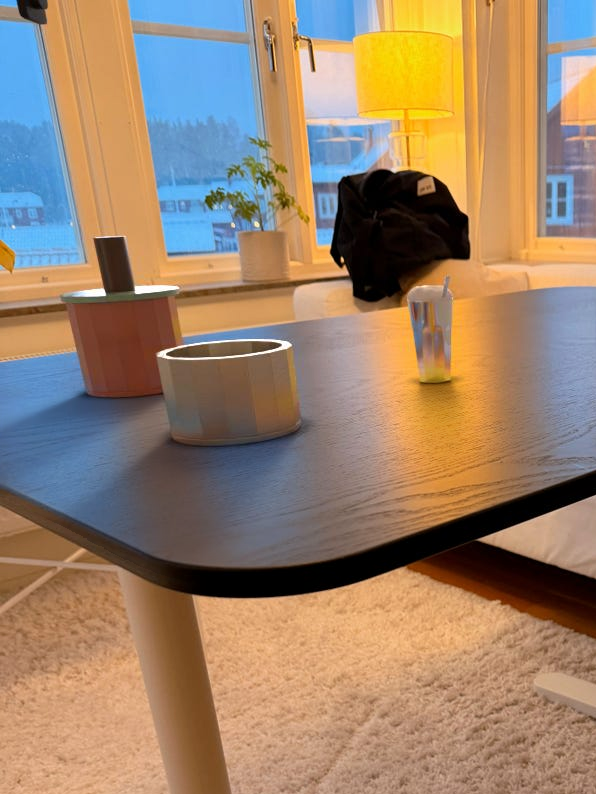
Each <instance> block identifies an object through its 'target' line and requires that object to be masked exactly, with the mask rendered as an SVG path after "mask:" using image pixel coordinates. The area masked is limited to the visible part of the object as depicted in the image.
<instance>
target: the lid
mask: <svg viewBox="0 0 596 794" xmlns="http://www.w3.org/2000/svg"><path fill="white" fill-rule="evenodd" d="M92 240H93V244H94V249H95V254H96V260H97V262H98V268H99V272H100V275H101V276H100V277H101V282H102V287H103V288H95V289H86V290H77V291H71V292H65V293H61V294H60V295H59V297H60V298H59V299H60V302H61V303H64V304H66V303H104V302H121V301H134V300H145V299H154V298H162V297H169V296H174V295H175V296H178V295H179V294H180V288H179V287H178V286H176V285H175V286H174V285H140V286H139V285H138V286H137V285H136V284H135V279H134V274H133V269H132V264H131V258H130V253H129V249H128V243H127V238H126V236H125V235H116V236H97V237H93V238H92Z"/></svg>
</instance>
